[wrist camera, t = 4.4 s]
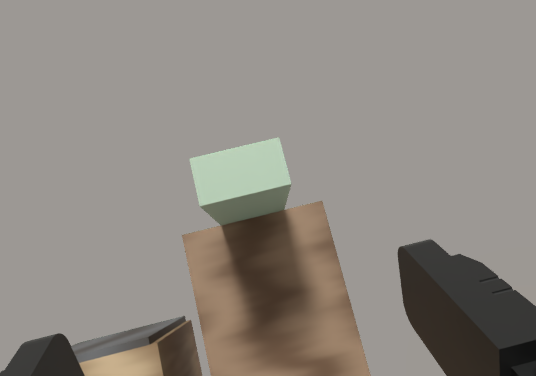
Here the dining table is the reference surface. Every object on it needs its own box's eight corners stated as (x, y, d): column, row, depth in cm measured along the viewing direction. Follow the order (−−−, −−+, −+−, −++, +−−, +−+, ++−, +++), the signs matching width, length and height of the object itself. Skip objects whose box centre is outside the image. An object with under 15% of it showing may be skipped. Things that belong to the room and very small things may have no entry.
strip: (199, 206, 19) (189, 158, 20) (237, 240, 43) (231, 217, 43) (291, 183, 20) (279, 137, 20) (278, 229, 43) (272, 207, 44)
